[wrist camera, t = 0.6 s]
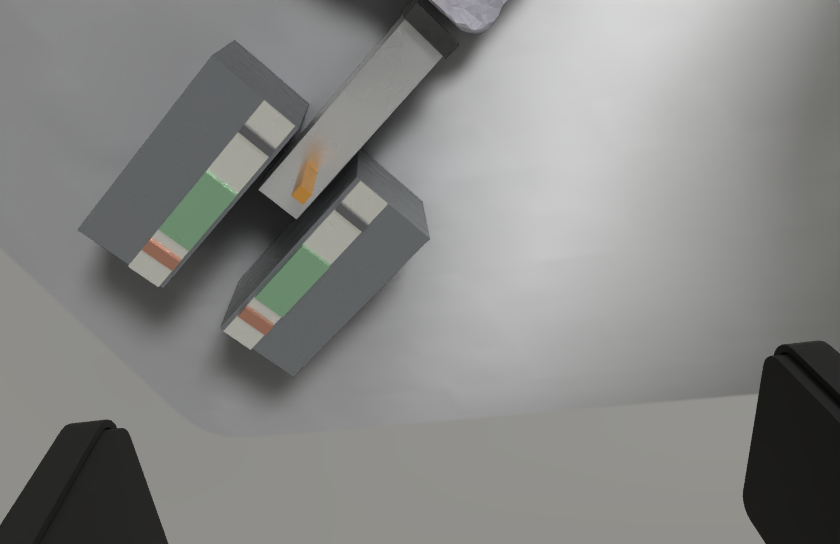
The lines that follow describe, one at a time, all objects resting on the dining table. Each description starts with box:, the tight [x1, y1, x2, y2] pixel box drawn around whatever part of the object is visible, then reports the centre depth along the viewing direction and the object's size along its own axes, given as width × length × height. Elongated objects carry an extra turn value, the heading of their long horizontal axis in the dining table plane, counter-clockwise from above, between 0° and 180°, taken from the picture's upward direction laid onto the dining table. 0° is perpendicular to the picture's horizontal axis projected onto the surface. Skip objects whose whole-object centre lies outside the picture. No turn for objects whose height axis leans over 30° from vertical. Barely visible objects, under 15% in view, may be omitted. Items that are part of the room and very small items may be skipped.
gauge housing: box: [78, 40, 430, 377], centre depth 32 cm, size 10×12×5 cm
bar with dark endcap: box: [259, 0, 459, 219], centre depth 29 cm, size 11×2×6 cm, turn 137°
